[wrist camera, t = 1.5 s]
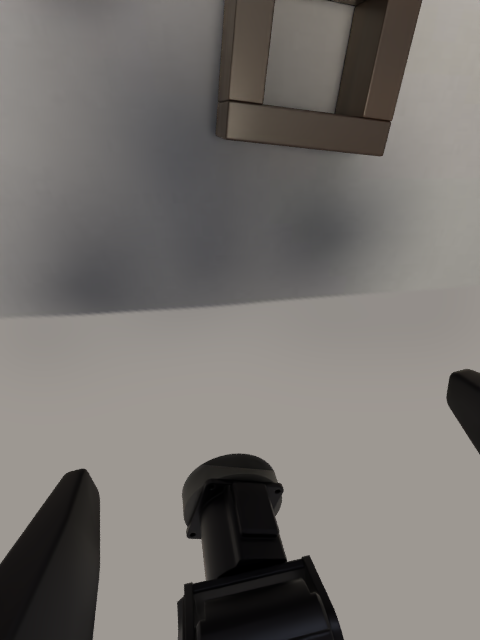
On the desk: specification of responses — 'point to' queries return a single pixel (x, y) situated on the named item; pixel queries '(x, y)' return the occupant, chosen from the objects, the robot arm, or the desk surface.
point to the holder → (355, 90)
